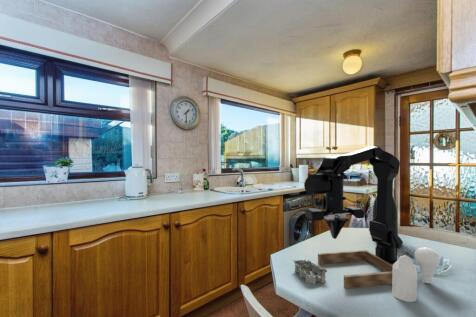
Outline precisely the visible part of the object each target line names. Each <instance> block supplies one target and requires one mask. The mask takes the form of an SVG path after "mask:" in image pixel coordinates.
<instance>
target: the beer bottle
mask: <svg viewBox="0 0 476 317" xmlns="http://www.w3.org/2000/svg"><path fill="white" fill-rule="evenodd" d="M376 204H377V195H376V196H375V198H374V200H373V204H372V212H371V213H372V215H371V218H372V219H371V221H373V219H374V218H375V217H376ZM392 220H393V222H394V224H395V226H396V231H397V235H398V236H399V210H398V205H397V202H396V199H395V197H394V195H393V194H392Z"/></svg>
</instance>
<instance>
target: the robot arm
mask: <svg viewBox="0 0 476 317" xmlns="http://www.w3.org/2000/svg"><path fill="white" fill-rule="evenodd" d="M365 161H367V162H368V163H369V164H370V166H372V170H373V171H372V172H373V174H374V176H375V178H376V180H377V183H376V184H377V186H376V196H377V204H376V217H375V218H374V219H373V221H372V220H369V223H368V224H369V227H368V228H369V229H368V231H369V234H370V237H371V240H372V242H374V243H375V242H376V243H375V244H376V246H375V254H374V255H376V256H378V257H379V258H381V259H383V260H384V261H386V262H388V263H390V264H391V265H393V264H394V263H395V262H396V261H397V260H398V249H399V250H400V249H401V248H402V247H403V239H402V238H401V237H400V236H399V234H398V235H397V231H396V226H395V224H394V222H393V220H392V195H393V190H394V188H393V186H394V179H395V178H396V177H397V176H398V175H399V171H400V167H401V162H400V160H399V159H398V157H396V156H395V155H393V153H390V152H388V151H385V150H383V149H382V148H381V147H379V146H375V145H374V146H366V147H364V148H361V149H358V150H355V151H352V152H349V153H345V154H339V155H326V156H325V157H323V158H322V162H321V163H320V165H319V167H318V168H317V170H316V172H315V173H308V177H306V179H305V181H304V183H303V186H304V187H303V188H304V190H305V192H306V193H307V194H308V195H310V196H312V195H313V197H312V198H311V199H312V201H311V203H312V206H313V207H312V208H310V207H309V208H306V210H305V211H304V212H305V213H304V216H305V218H307V219H309V220H311V221H323V220H324V221H325V223H326V224H327V226H328V229H329V233H330V235H331V238H332V239H334V240H335V239H338V236H339V234H340V232H341V231H342V229H343V227H344V226H345V224H347V222H349V219H348V218H347V216H353V217H354V218H355V219H364V218H365V211H364V210H363V209H362V208H359V207H356V206H344V201H346V200H347V199H346V198H347V196H344V180H348V179H349V177H348V176H347V175H346V174H345V172H346V171H348V170H350V168H351V167H352V166H354V165H357V164H359V163H363V162H365ZM321 194H322V198H320V197H319V196H318V197H317V196H315V197H314V195H321ZM314 207H315V208H314Z"/></svg>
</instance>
